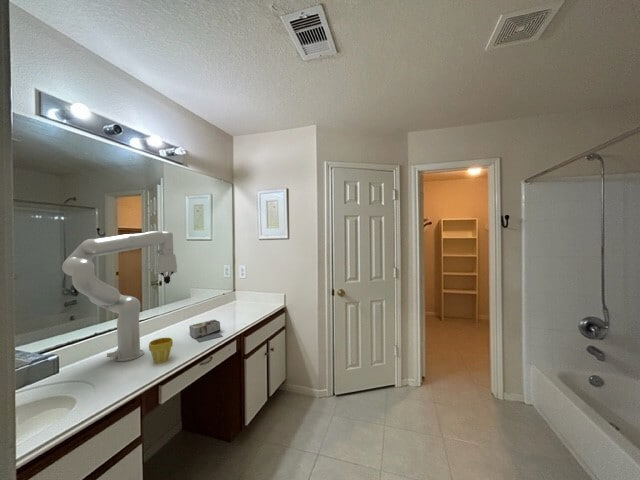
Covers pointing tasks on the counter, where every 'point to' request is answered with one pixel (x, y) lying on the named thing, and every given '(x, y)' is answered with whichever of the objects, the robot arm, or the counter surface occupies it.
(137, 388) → the counter surface
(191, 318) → the counter surface
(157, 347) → the plant pot
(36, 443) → the counter surface
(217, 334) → the mat
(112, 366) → the counter surface
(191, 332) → the coffee box
